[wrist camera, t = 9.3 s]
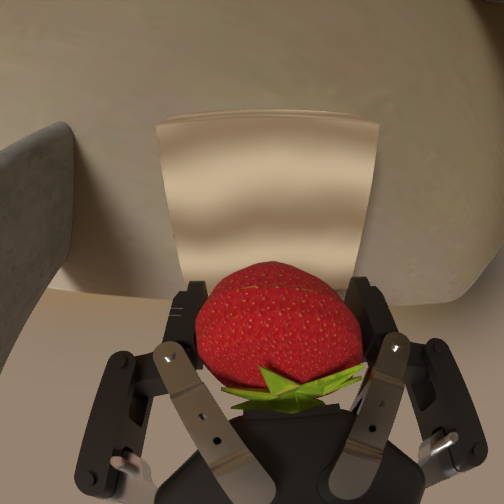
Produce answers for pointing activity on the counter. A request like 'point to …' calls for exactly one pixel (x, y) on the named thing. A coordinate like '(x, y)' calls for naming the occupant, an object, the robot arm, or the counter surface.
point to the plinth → (267, 190)
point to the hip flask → (33, 223)
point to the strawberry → (278, 338)
